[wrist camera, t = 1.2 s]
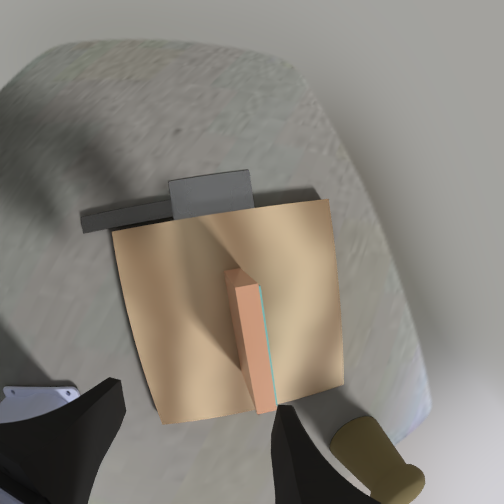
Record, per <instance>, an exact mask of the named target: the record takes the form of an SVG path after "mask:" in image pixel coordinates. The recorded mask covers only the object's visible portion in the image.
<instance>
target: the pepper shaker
mask: <svg viewBox="0 0 504 504" xmlns="http://www.w3.org/2000/svg"><path fill="white" fill-rule="evenodd" d="M330 451H331V452H332V454H333V455H334V456H335V457H336V458H337V459H338V460H339V461H340V462H341V463H342V464H343V465H344V466H345V467H346V468H347V469H348V470H349V471H350V472H351V473H352V474H353V475H354V476H355V477H356V478H357V479H358V480H359V481H360V482H362V483H363V484H364V485H365V486H366V487H367V488H368V489H369V490H370V491H371V494H370V497H371V498H373V499H375V500H377V501H379V502H380V503H381V504H409V503H410V502H411V501H413V500H414V499H415V498H416V497H417V496H418V495H419V494H420V492H421V491H422V489H423V487H424V485H425V476H424V474H423V472H422V471H421V470H420V469H419V468H417V467H416V466H414V465H412V464H406V463H405V462H404V460H403V458H402V457H401V456H400V454H399V453H398V451H397V450H396V448H395V447H394V445H393V444H392V442H391V441H390V439H389V438H388V436H387V435H386V434H385V432H384V431H383V429H382V428H381V426H380V425H379V423H378V422H377V420H375V419H374V418H373V417H369V416H364V417H359V418H356V419H354V420H351V421H350V422H348V423H347V424H345V425H344V426H343V427H342V428H340V429H339V430H338V431H337V432H336V434H335V435H334V437H333V438H332V441H331V443H330Z"/></svg>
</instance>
